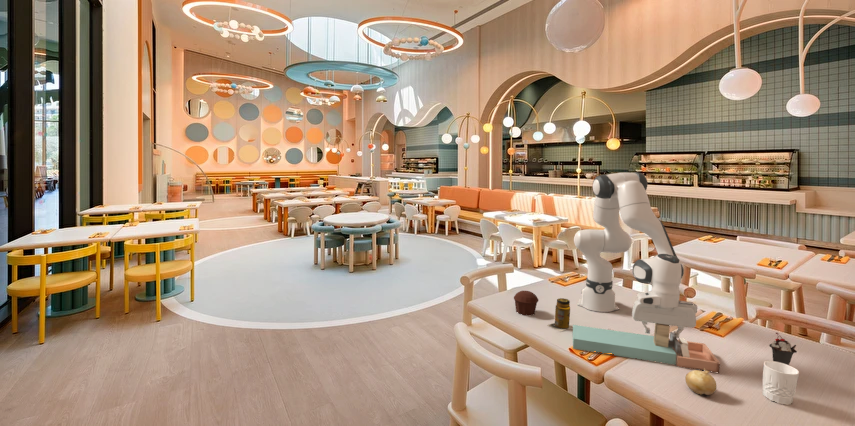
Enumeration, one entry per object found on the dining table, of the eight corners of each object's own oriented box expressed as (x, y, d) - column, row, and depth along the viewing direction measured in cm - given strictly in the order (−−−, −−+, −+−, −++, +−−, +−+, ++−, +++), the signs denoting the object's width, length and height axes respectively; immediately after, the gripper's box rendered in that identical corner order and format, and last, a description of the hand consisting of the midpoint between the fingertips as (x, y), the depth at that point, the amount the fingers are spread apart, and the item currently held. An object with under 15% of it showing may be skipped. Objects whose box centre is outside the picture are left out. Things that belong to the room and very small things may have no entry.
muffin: (543, 313, 183) (544, 293, 182) (527, 318, 177) (528, 297, 176) (523, 306, 193) (524, 286, 192) (508, 310, 187) (508, 290, 186)
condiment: (573, 327, 168) (575, 301, 167) (560, 332, 163) (562, 304, 162) (559, 321, 174) (560, 296, 173) (546, 326, 169) (548, 299, 168)
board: (572, 333, 161) (573, 324, 161) (666, 347, 150) (667, 337, 149) (572, 348, 148) (573, 338, 148) (675, 365, 137) (676, 354, 136)
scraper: (651, 336, 150) (653, 317, 149) (672, 339, 148) (674, 319, 147) (657, 350, 139) (659, 328, 138) (680, 353, 137) (682, 332, 136)
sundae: (760, 371, 133) (765, 329, 131) (778, 370, 134) (783, 329, 132) (779, 382, 127) (785, 338, 125) (798, 381, 127) (804, 337, 125)
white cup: (758, 388, 123) (762, 358, 122) (791, 396, 119) (796, 365, 117) (761, 400, 117) (765, 368, 115) (797, 409, 112) (801, 377, 111)
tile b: (678, 344, 141) (685, 343, 140) (681, 358, 140) (688, 358, 140) (680, 346, 137) (687, 346, 136) (684, 361, 136) (690, 361, 135)
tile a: (678, 337, 146) (685, 338, 145) (677, 350, 147) (683, 351, 146) (682, 343, 142) (688, 344, 141) (680, 356, 142) (687, 357, 141)
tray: (666, 346, 151) (667, 338, 150) (704, 352, 147) (704, 343, 146) (677, 366, 136) (678, 357, 135) (719, 373, 132) (720, 363, 131)
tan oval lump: (713, 402, 115) (716, 380, 114) (682, 391, 121) (684, 370, 120) (716, 391, 121) (719, 369, 120) (686, 381, 126) (688, 360, 126)
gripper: (695, 299, 141) (691, 335, 143) (632, 293, 148) (630, 327, 150) (700, 305, 136) (697, 343, 137) (635, 298, 142) (632, 334, 144)
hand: (661, 334), depth 144 cm, fingers open, 8 cm apart
